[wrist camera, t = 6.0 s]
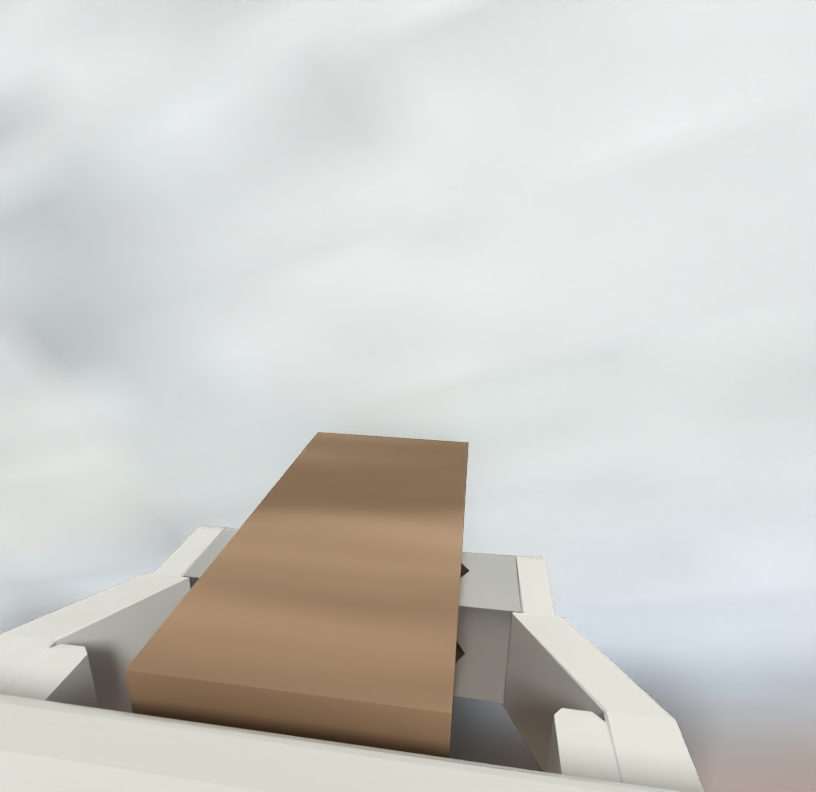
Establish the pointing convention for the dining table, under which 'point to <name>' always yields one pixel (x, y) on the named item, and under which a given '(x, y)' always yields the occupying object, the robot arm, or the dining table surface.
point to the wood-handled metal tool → (327, 604)
